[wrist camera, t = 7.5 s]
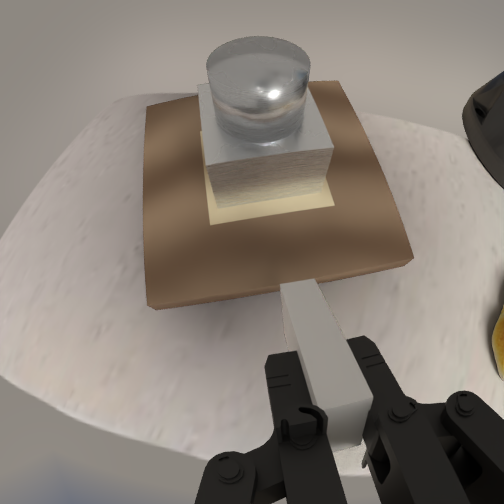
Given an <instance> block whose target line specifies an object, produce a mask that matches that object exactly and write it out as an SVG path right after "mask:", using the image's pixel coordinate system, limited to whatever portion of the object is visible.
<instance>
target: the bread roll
mask: <svg viewBox="0 0 504 504" xmlns="http://www.w3.org/2000/svg"><path fill="white" fill-rule="evenodd" d="M492 348H493V352H494V356H495V360H496V364H497V368H498V372H499V376H500V377H501V379H502V380H503V381H504V305H503V309H502V311H501V314H500V317H499V319H498V321H497V323H496V325H495V328H494V331H493V334H492Z"/></svg>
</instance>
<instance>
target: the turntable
mask: <svg viewBox="0 0 504 504" xmlns="http://www.w3.org/2000/svg"><path fill="white" fill-rule="evenodd" d="M308 88H309V90H310V92H311V95H312V97H313V99H314V101H315V103H316V106H317V108H318V110H319V112H320V115H321V117H322V119H323V122H324V124H325V126H326V129H327V131H328V133H329V136H330V138H331V141H332V143H333V146H334V150H333V153H332V157H331V160H330V164H329V167H328V170H327V174H326V177H325V180H324V184H323V187H322V190H321V193H314V194H307V195H301V196H294V197H287V198H281V199H274V200H268V201H261V202H255V203H249V204H243V205H237V206H231V207H226V208H220V209H218V208H217V204H216V201H215V197H214V194H213V190H212V186H211V183H210V179H209V176H208V172H207V168H206V164H205V155H204V146H203V136H202V127H201V117H200V107H199V96H198V95H196V96H191V97H186V98H181V99H177V100H172V101H168V102H163V103H159V104H155V105H151V106H147V110H146V124H145V141H144V166H143V239H144V264H145V282H146V296H147V305H148V306H149V307H151V308H153V309H155V310H161V309H168V308H175V307H182V306H189V305H196V304H203V303H209V302H216V301H222V300H228V299H234V298H240V297H247V296H252V295H258V294H264V293H270V292H276V291H280V284H283V283H290V282H296V281H302V280H308V279H314V278H315V280H316V282H317V284H319V283H324V282H329V281H335V280H340V279H345V278H350V277H354V276H359V275H364V274H369V273H374V272H378V271H383V270H388V269H392V268H397V267H401V266H404V265H406V264H407V263H408V262H410V261H411V260H412V259H413V258H414V256H413V253H412V250H411V247H410V243H409V240H408V237H407V234H406V231H405V229H404V226H403V223H402V220H401V217H400V214H399V212H398V209H397V206H396V204H395V201H394V198H393V196H392V193H391V191H390V188H389V186H388V183H387V181H386V178H385V176H384V174H383V171H382V169H381V166H380V164H379V162H378V160H377V157H376V155H375V153H374V151H373V148H372V146H371V144H370V142H369V140H368V138H367V136H366V133H365V131H364V129H363V127H362V125H361V123H360V121H359V119H358V117H357V115H356V113H355V111H354V109H353V107H352V105H351V104H350V102H349V100H348V98H347V96H346V94H345V92H344V90H343V89H342V87H341V85H340V83H339V81H313V82H308Z"/></svg>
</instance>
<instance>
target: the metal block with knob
mask: <svg viewBox="0 0 504 504" xmlns="http://www.w3.org/2000/svg"><path fill="white" fill-rule="evenodd" d="M206 67H207V73H208V79H209V83H206V84H200V85H198V96H199V107H200V117H201V127H202V136H203V146H204V155H205V164H206V168H207V172H208V176H209V179H210V183H211V186H212V190H213V194H214V197H215V201H216V204H217V208H218V209H220V208H226V207H231V206H237V205H243V204H249V203H255V202H261V201H268V200H274V199H281V198H287V197H294V196H301V195H307V194H314V193H321V190H322V187H323V184H324V180H325V177H326V174H327V170H328V167H329V164H330V160H331V157H332V153H333V150H334V146H333V143H332V141H331V138H330V136H329V133H328V131H327V129H326V126H325V124H324V122H323V119H322V117H321V115H320V112H319V110H318V108H317V106H316V103H315V101H314V99H313V97H312V95H311V92H310V90H309V88H308V81H309V73H310V59H309V57H308V55H307V54H306V53H305V52H304V51H303V50H302V49H301V48H300V47H298V46H297V45H295V44H293V43H291V42H288V41H286V40H282V39H278V38H274V37H264V36H254V37H245V38H240V39H236V40H232V41H230V42H227V43H225V44H223V45H221V46H220V47H218V48H217V49H215V50H214V51H213V52H212V53H211V54H210V56H209V58H208V60H207V64H206Z"/></svg>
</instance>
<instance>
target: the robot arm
mask: <svg viewBox="0 0 504 504" xmlns="http://www.w3.org/2000/svg"><path fill="white" fill-rule="evenodd" d="M462 119H463V125H464V128H465V132H466V134H467V137H468V139H469V141H470V143H471V145H472V147H473V149H474V151H475V152H476V154H477V156H478V157H479V159H480V160H481V162H482V163H483V164H484V166H485V167H486V168H487V170H488V171H489V172H490V174H491V175H492V176H493V177H494V178H495V179H496V181H497V182H498V183H499V184H500V185H501V186H502V187H503V188H504V71H503V72H502V73H500V74H499V75H497V76H496V77H495V78H494V79H492V80H490V81H489V82H488V83H486V84H485V85H484V86H482V87H481V88H479V89H478V90H477V91H475V92H474V93H473V94H472V95H471V97H470V98H469V100H468V102H467V104H466V105H465V107H464V109H463V114H462ZM280 292H281V303H282V314H283V326H284V335H285V339H286V343H287V346H288V350H289V352H285V353H279V354H273V355H269V356H268V358H267V361H266V364H265V373H266V380H267V387H268V393H269V399H270V405H271V411H272V417H273V423H274V431H273V434H272V436H271V437H270V439H269V440H268V441H267V442H266V443H265V444H264V445H262V446H260V447H259V448H257V449H254V450H252V451H250V452H247V453H245V454H243V453H239V452H235V451H232V452H223V453H221V454H218V455H216V456H214V457H213V458H212V459H211V460H209V462H208V464H207V466H206V467H205V470H204V473H203V477H202V480H201V483H200V487H199V490H198V493H197V497H196V500H195V504H272V503H274V502H276V501H278V500H280V499H283V498H285V497H286V501H287V504H347V501H346V498H345V494H344V491H343V487H342V484H341V480H340V477H339V473H338V470H337V467H336V463H335V460H334V457H333V453H332V452H335V451H339V450H343V449H347V448H351V447H355V446H358V445H361V441H362V438H363V439H364V442H365V444H366V447H367V449H366V452H365V455H364V458H363V460H362V468H365V467H366V465H367V464H368V467H369V470H370V473H371V475H372V478H373V481H374V484H375V487H376V490H377V493H378V495H379V498H380V501H381V504H504V420H503V419H502V418H501V417H500V416H499V415H498V414H497V413H496V412H495V411H494V410H493V409H492V408H491V407H489V406H488V405H487V404H486V403H485V402H484V401H483V400H482V399H481V398H480V397H479V396H477V395H476V394H474V393H472V392H469V391H458V392H456V393H454V394H452V395H451V396H450V397H449V398H448V399H447V401H446V402H445V403H434V404H421V403H417V402H416V400H414V399H412V398H410V397H408V396H405V394H404V393H403V392H402V390H401V388H400V386H399V384H398V383H397V381H396V379H395V377H394V376H393V374H392V372H391V370H390V369H389V367H388V365H387V363H385V360H384V358H383V356H382V355H381V353H380V351H379V349H378V348H377V346H376V344H375V343H374V342H373V341H371V340H370V339H368V338H367V337H366V336H360V337H356V338H351V339H347V340H346V339H345V337H344V335H343V333H342V331H341V329H340V327H339V325H338V323H337V321H336V319H335V317H334V315H333V313H332V311H331V309H330V307H329V305H328V303H327V302H326V300H325V298H324V296H323V294H322V292H321V290H320V288H319V286H318V284H317V282H316V280H315V278H314V279H308V280H302V281H296V282H290V283H283V284H280Z"/></svg>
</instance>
